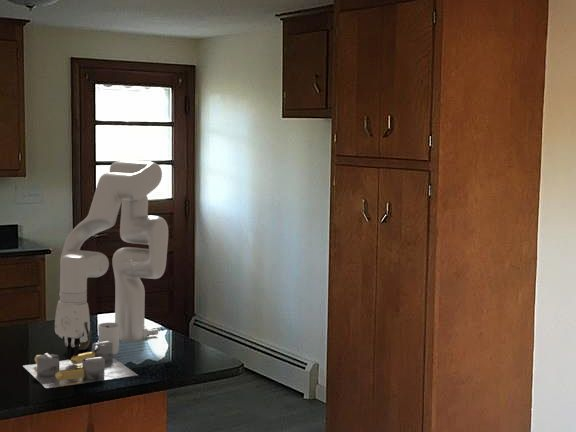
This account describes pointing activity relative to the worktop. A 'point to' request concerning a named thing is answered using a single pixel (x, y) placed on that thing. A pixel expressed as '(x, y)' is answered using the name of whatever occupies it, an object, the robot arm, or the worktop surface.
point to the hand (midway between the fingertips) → (72, 359)
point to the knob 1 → (47, 365)
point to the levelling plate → (111, 372)
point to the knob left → (85, 370)
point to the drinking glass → (109, 334)
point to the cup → (85, 344)
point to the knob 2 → (96, 352)
